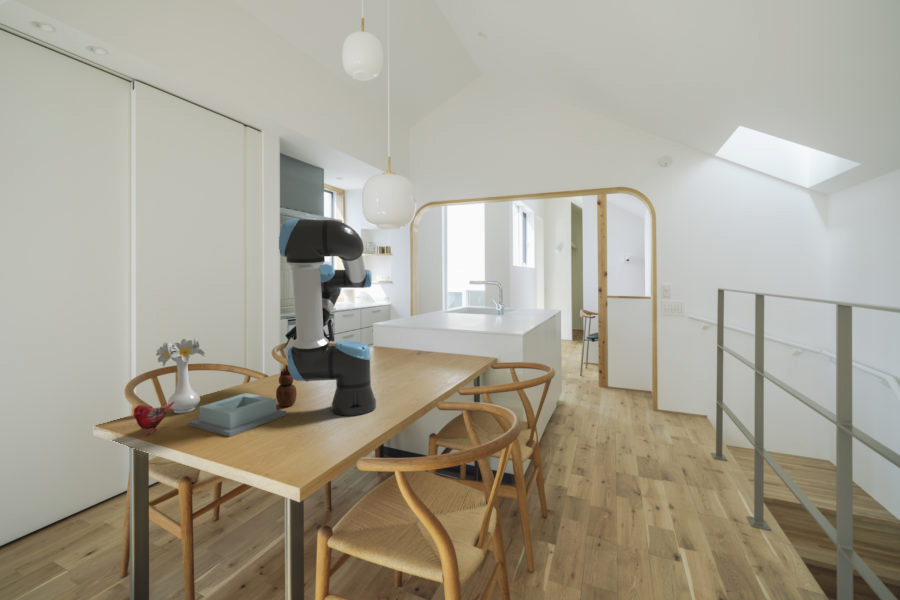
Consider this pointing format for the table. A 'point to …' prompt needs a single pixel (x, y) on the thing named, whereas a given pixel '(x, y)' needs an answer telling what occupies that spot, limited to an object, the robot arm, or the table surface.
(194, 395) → the flower vase
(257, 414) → the collar stand
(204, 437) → the table surface
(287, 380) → the wooden figurine
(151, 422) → the decorative bird figurine
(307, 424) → the table surface
